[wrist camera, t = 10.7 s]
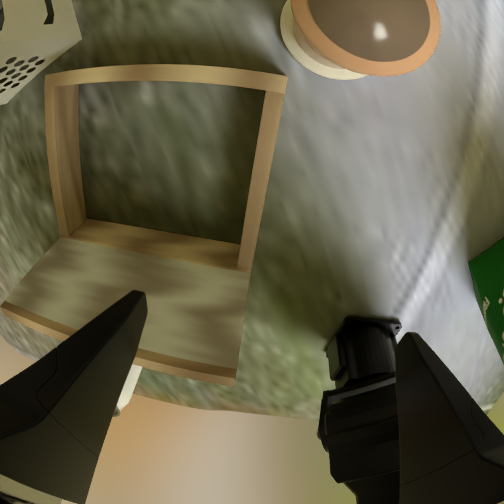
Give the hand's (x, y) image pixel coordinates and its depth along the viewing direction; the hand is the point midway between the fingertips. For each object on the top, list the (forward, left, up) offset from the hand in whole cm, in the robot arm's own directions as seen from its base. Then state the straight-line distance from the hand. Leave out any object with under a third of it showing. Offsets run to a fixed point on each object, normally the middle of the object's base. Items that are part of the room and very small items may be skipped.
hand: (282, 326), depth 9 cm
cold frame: (+9, 0, -13) cm, 16 cm away
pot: (-2, -11, -12) cm, 17 cm away
